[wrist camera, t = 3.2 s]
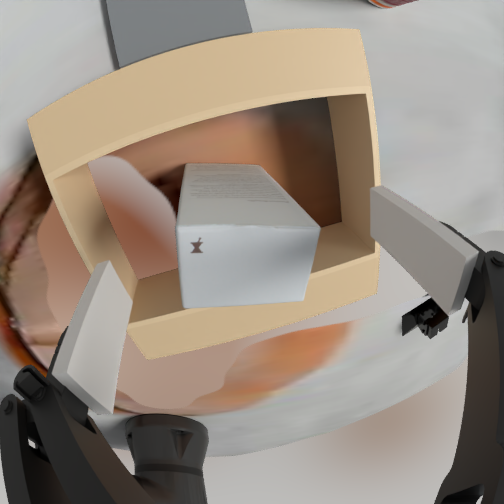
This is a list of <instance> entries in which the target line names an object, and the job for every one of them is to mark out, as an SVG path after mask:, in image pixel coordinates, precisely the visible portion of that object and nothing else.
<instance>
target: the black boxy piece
mask: <svg viewBox="0 0 504 504" xmlns="http://www.w3.org/2000/svg"><path fill="white" fill-rule="evenodd" d="M425 296H429V294H426V295H425ZM425 296H423V297H425ZM448 319H449V316H448V315H447V314H446V313H445V312H444V311H443V310H442V308H441V307H440V306H439V305H438V304H437V303H436V302H435V301H434V299H433V298H432V297H431V298H430V299H428V300H427V301H425V302H424V303H422V304H420V305H419V306H417V307H416V308H414V309H413V310H411V311H409V312H408V313H406V314H405V315H403V316H402V336H404V335H405V334H407V333H408V332H410V331H412V330H413V329H415V328H416V327H419V328H420V330H421V332H422V333H423V334H424V335H425V336H428V337H429V338H430V339H431V338H433V337H434V336H435V335H437V333H438V331H439V332H441V331H442V330H444V329H445V328H446V327H447V323H448ZM438 328H439V330H438Z"/></svg>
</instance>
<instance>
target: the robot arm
mask: <svg viewBox="0 0 504 504" xmlns="http://www.w3.org/2000/svg"><path fill="white" fill-rule="evenodd" d="M370 236H371V237H372V238H373V239H374V240H376V241H377V242H378V243H379V244H380V245H381V246H382V247H383V248H384V249H385V250H386V251H387V252H388V253H389V254H390V255H391V256H392V257H393V258H394V259H395V260H396V261H397V262H398V263H399V264H400V265H401V266H402V267H403V268H404V269H405V270H406V271H407V272H408V273H409V274H410V275H411V276H412V277H413V278H414V279H415V280H416V281H417V282H418V283H419V284H420V285H421V286H422V287H423V289H424V290H425V291H426V292H427V293H428V294H429V295H430V296H431V297H432V298H433V299H434V301H435V302H436V303H437V304H438V305H439V306H440V307H441V308H442V310H443V311H444V312H445V313H446V314H447V315H448V316H449V315H451V314H453V313H455V312H456V311H458V310H460V309H461V307H462V304H463V301H464V298H466V299H467V300H468V301H469V305H468V307H467V310H466V312H465V315H464V317H463V320H462V323H464V322H465V320H466V318H467V317H468V372H467V385H466V395H465V404H464V412H463V418H462V425H461V430H460V436H459V440H458V445H457V449H456V454H455V458H454V462H453V465H452V468H451V470H450V472H449V473H448V475H447V476H446V477H445V479H444V481H443V483H442V484H441V487H440V489H439V492H438V495H437V497H436V500H435V503H434V504H476V502H477V500H478V499H479V498H480V496H482V495H483V498H482V501H481V504H504V254H503V253H501V252H498V251H489V252H487V253H485V252H484V251H483V250H482V249H481V248H479V247H478V246H477V245H475V244H474V243H473V242H472V241H470V240H469V239H468V238H466V237H464V235H462V234H461V233H460V232H457V230H455V229H454V228H453V227H451V226H450V225H448V224H445V223H443V222H440V221H437V220H436V219H434V218H433V217H432V216H430V215H429V214H427V213H426V212H424V211H423V210H421V209H420V208H418V207H417V206H415V205H413V204H412V203H410V202H409V201H407V200H406V199H404V198H402V197H401V196H399V195H397V194H396V193H394V192H393V191H391V190H389V189H387V188H386V187H384V186H382V185H381V186H377V187H372V188H370ZM132 304H133V301H132V300H131V298H130V296H129V294H128V293H127V291H126V289H125V288H124V286H123V284H122V282H121V280H120V279H119V277H118V275H117V273H116V271H115V269H114V268H113V266H112V264H111V262H110V260H107V261H104V262H101V263H98V264H97V265H96V267H95V269H94V271H93V273H92V275H91V277H90V279H89V281H88V283H87V285H86V288H85V290H84V292H83V294H82V296H81V298H80V300H79V303H78V305H77V307H76V310H75V312H74V314H73V317H72V319H71V322H70V324H69V326H67V328H66V329H65V331H64V332H63V333H62V335H61V337H60V339H59V342H58V346H57V347H56V350H55V354H54V355H53V358H52V361H51V364H50V367H49V370H48V373H47V376H46V378H45V377H44V376H43V375H42V374H41V373H40V372H39V371H38V370H37V369H36V368H35V367H34V366H32V365H27V366H25V367H24V368H22V369H21V370H20V371H19V372H18V374H17V376H16V378H15V380H14V390H15V391H16V392H18V393H19V394H20V395H21V396H22V397H23V398H24V400H22V401H21V400H20V399H18V398H17V397H16V396H15V395H13V394H9V395H7V396H6V397H5V398H4V399H3V400H2V402H1V405H0V449H1V461H2V468H3V476H4V481H5V488H6V492H7V498H8V502H9V504H207V497H206V491H205V485H204V479H203V470H202V466H203V462H204V459H205V455H206V451H207V447H208V442H209V438H208V430H207V428H206V427H205V426H204V425H203V424H201V423H199V422H197V421H194V420H192V419H188V418H184V417H179V416H173V415H159V414H154V415H142V416H137V417H134V418H132V419H130V420H129V421H128V422H127V423H126V439H127V442H128V445H129V449H130V452H131V455H132V458H133V460H134V464H135V475H132V474H130V472H129V471H128V470H127V469H126V467H125V466H124V465H123V463H122V462H121V461H120V459H119V458H118V457H117V455H116V454H115V452H114V451H113V450H112V448H111V447H110V445H109V444H108V442H107V441H106V439H105V438H104V436H103V435H102V433H101V432H100V430H99V429H98V427H97V426H96V424H95V422H94V421H93V419H92V418H91V417H90V416H89V415H88V414H87V413H88V407H89V408H90V409H91V410H93V411H94V412H95V413H96V414H98V415H101V414H113V409H114V401H115V393H116V386H117V380H118V374H119V368H120V362H121V356H122V351H123V346H124V341H125V336H126V331H127V326H128V322H129V317H130V313H131V309H132ZM28 439H29V440H31V441H33V442H34V443H35V448H33V447H31V446H30V445H29V442H28Z"/></svg>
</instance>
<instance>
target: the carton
mask: <svg viewBox="0 0 504 504" xmlns="http://www.w3.org/2000/svg"><path fill="white" fill-rule="evenodd" d="M318 97H327V101H328V106H329V112H330V119H331V125H332V132H333V139H334V146H335V154H336V162H337V171H338V180H339V191H340V202H341V216H342V222H339V223H336V224H332V225H329V226H325V227H322V228H321V230H320V235H319V239H318V243H317V248H316V252H315V256H314V260H313V265H312V269H311V273H310V277H309V280H308V284H307V288H306V292H305V297H304V300H303V301H299V302H285V303H273V304H259V305H245V306H227V307H206V308H187V309H186V308H183V306H182V300H181V291H180V281H179V270H178V269H174V270H171V271H167V272H164V273H160V274H157V275H154V276H150V277H147V278H143V279H140V280H138V279H137V277H136V275H135V273H134V271H133V269H132V267H131V265H130V263H129V261H128V259H127V257H126V255H125V253H124V251H123V249H122V247H121V244H120V242H119V240H118V238H117V236H116V234H115V231H114V229H113V227H112V225H111V222H110V220H109V218H108V215H107V213H106V211H105V208H104V206H103V204H102V201H101V199H100V196H99V194H98V191H97V188H96V186H95V183H94V181H93V178H92V175H91V173H90V170H89V167H88V164H87V163H88V162H90V161H92V160H94V159H97V158H99V157H101V156H103V155H106V154H108V153H110V152H113V151H115V150H117V149H120V148H122V147H125V146H127V145H130V144H133V143H135V142H138V141H140V140H143V139H146V138H149V137H151V136H154V135H157V134H160V133H163V132H166V131H169V130H172V129H175V128H178V127H182V126H185V125H188V124H191V123H195V122H198V121H202V120H206V119H209V118H213V117H217V116H221V115H225V114H229V113H233V112H237V111H242V110H246V109H251V108H256V107H261V106H266V105H271V104H277V103H283V102H289V101H295V100H302V99H310V98H318ZM27 122H28V126H29V130H30V133H31V137H32V140H33V143H34V147H35V150H36V153H37V156H38V159H39V162H40V165H41V168H42V171H43V173H44V176H45V179H46V181H47V184H48V187H49V189H50V192H51V194H52V197H53V199H54V201H55V204H56V206H57V208H58V211H59V213H60V215H61V217H62V220H63V222H64V224H65V226H66V228H67V230H68V232H69V235H70V236H71V239H72V240H73V242H74V245H75V247H76V248H77V251H78V252H79V254H80V256H81V258H82V260H83V262H84V264H85V265H86V267H87V269H88V271H89V272H90V274H91V275H92V273H93V271H94V269H95V267H96V265H97V264H98V263H101V262H104V261H107V260H110V262H111V264H112V266H113V268H114V269H115V271H116V273H117V275H118V277H119V279H120V280H121V282H122V284H123V286H124V288H125V289H126V291H127V293H128V294H129V296H130V298H131V300H132V301H133V304H132V309H131V313H130V317H129V322H128V326H127V333H128V334H129V336H130V337H131V338H132V340H133V341H134V343H135V344H136V345H137V347H138V348H139V350H140V351H141V352H142V353H143V355H144V356H145V357H146V359H147V360H149V359H154V358H160V357H165V356H170V355H174V354H179V353H183V352H188V351H192V350H197V349H201V348H205V347H209V346H213V345H217V344H221V343H225V342H229V341H232V340H237V339H240V338H244V337H248V336H251V335H254V334H258V333H262V332H265V331H268V330H272V329H275V328H279V327H282V326H285V325H288V324H292V323H295V322H298V321H301V320H304V319H307V318H310V317H313V316H316V315H319V314H322V313H325V312H328V311H331V310H334V309H336V308H339V307H342V306H345V305H347V304H350V303H353V302H356V301H358V300H361V299H364V298H366V297H369V296H371V295H374V294H377V287H378V275H379V260H380V244H379V243H378V242H377V241H376V240H374V239H373V238H372V237H371V236H370V188H372V187H377V186H381V184H380V163H379V148H378V136H377V126H376V117H375V109H374V102H373V95H372V89H371V82H370V77H369V71H368V66H367V61H366V56H365V51H364V47H363V42H362V38H361V34H360V30H359V29H342V28H306V29H287V30H275V31H265V32H257V33H250V34H243V35H237V36H231V37H226V38H220V39H216V40H211V41H206V42H202V43H198V44H194V45H190V46H186V47H183V48H179V49H176V50H172V51H169V52H166V53H162V54H159V55H156V56H153V57H150V58H148V59H145V60H142V61H139V62H137V63H134V64H131V65H129V66H126V67H124V68H121V69H119V70H117V71H114V72H112V73H110V74H107V75H105V76H103V77H101V78H99V79H97V80H94V81H92V82H90V83H88V84H86V85H84V86H82V87H80V88H79V89H77V90H75V91H73V92H71V93H69V94H67V95H66V96H64V97H62V98H60V99H59V100H57V101H55V102H54V103H52V104H50V105H49V106H47V107H45V108H44V109H42V110H41V111H39V112H38V113H36V114H35V115H33V116H32V117H30V118H29V119H27Z"/></svg>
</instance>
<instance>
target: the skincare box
mask: <svg viewBox="0 0 504 504" xmlns="http://www.w3.org/2000/svg"><path fill="white" fill-rule="evenodd" d="M320 230H321V228H320V226H319V225H318V224H317V223H316V222H315V221H314V220H313V219H312V218H311V217H310V216H309V215H308V214H307V213H306V211H305V210H304V209H303V208H302V207H301V206H300V205H299V204H298V203H297V202H296V201H295V200H294V199H293V198H292V197H291V196H290V195H289V194H288V193H287V192H286V191H285V190H284V189H283V188H282V187H281V186H280V185H279V184H278V183H277V182H276V181H275V180H274V179H273V178H272V177H271V176H270V175H269V174H268V173H267V172H266V171H265V170H264V169H263V168H262V167H261V166H260V165H252V164H220V163H186V165H185V169H184V175H183V180H182V186H181V193H180V200H179V208H178V216H177V221H176V226H175V233H176V245H177V259H178V270H179V281H180V291H181V300H182V306H183V308H186V309H187V308H206V307H227V306H245V305H259V304H273V303H285V302H299V301H303V300H304V297H305V292H306V288H307V284H308V280H309V277H310V273H311V269H312V265H313V260H314V256H315V252H316V248H317V243H318V239H319V235H320Z"/></svg>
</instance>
